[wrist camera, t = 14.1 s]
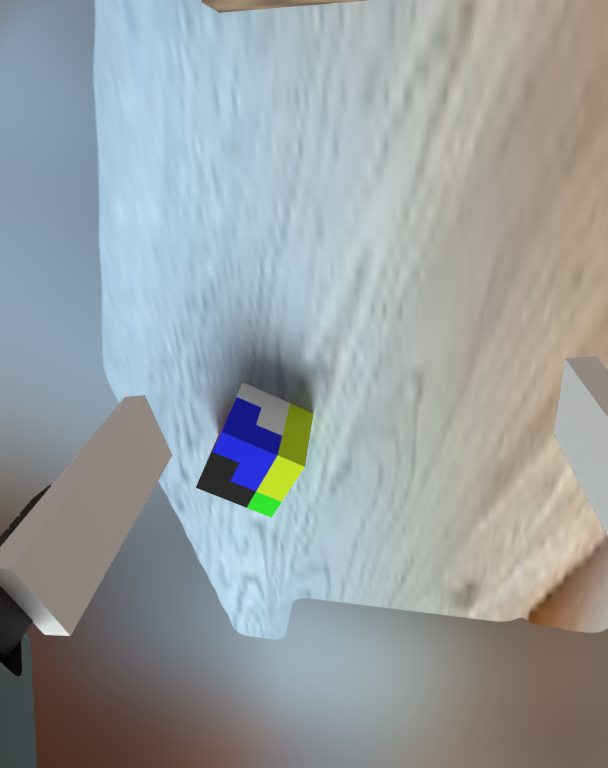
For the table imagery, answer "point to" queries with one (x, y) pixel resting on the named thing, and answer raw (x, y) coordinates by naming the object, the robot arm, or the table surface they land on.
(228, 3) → the walnut box
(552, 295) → the table surface
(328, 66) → the table surface
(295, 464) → the puzzle toy
